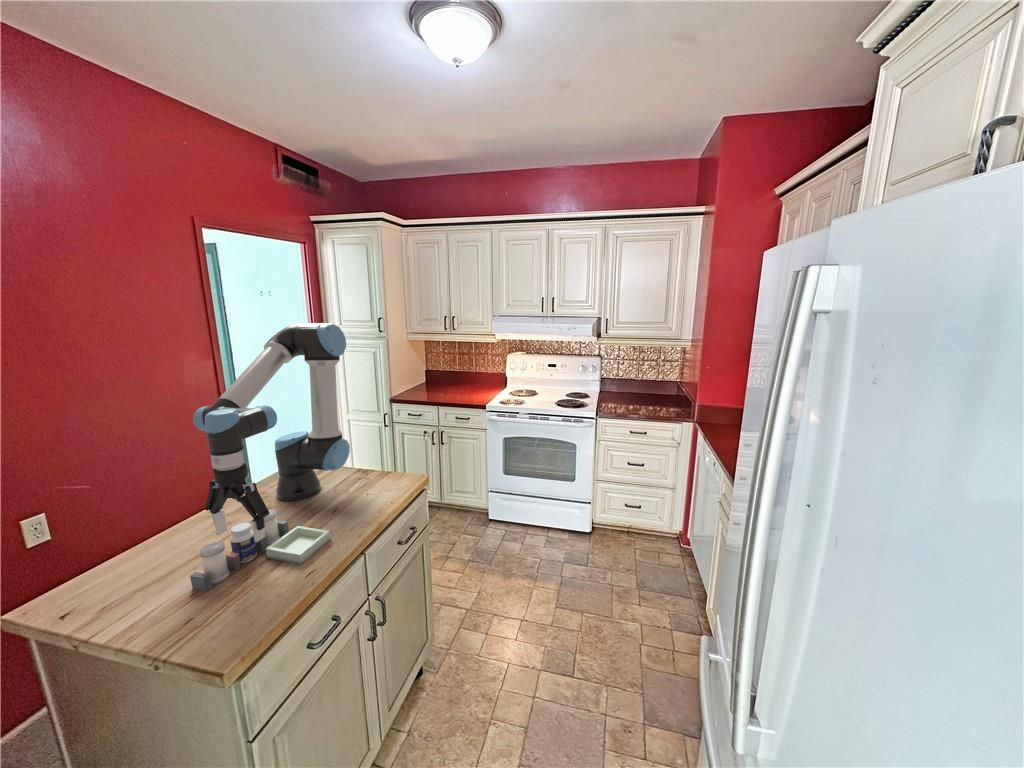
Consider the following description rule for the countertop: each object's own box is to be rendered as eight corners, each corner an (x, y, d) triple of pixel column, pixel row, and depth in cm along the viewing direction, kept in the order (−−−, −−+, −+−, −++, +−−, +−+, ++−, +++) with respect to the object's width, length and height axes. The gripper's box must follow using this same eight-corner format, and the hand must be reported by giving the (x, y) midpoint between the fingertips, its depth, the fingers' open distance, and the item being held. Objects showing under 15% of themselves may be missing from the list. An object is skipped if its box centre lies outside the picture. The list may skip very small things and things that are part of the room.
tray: (298, 534, 126) (297, 525, 125) (330, 539, 123) (329, 530, 122) (267, 557, 115) (265, 548, 114) (301, 564, 112) (300, 554, 111)
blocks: (277, 530, 128) (275, 518, 127) (289, 532, 127) (287, 520, 126) (192, 589, 103) (189, 574, 102) (205, 592, 102) (202, 577, 101)
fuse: (270, 534, 126) (266, 509, 124) (284, 537, 125) (280, 511, 123) (256, 544, 121) (251, 517, 119) (270, 547, 120) (265, 520, 118)
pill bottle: (246, 565, 112) (240, 533, 109) (229, 563, 113) (223, 531, 111) (262, 552, 117) (257, 522, 115) (246, 550, 118) (240, 520, 116)
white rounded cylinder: (219, 569, 110) (213, 540, 108) (234, 572, 109) (228, 543, 107) (200, 582, 105) (194, 552, 103) (216, 585, 104) (209, 555, 102)
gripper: (181, 466, 108) (194, 537, 113) (253, 475, 102) (264, 550, 106) (208, 456, 115) (219, 523, 120) (277, 464, 109) (287, 534, 113)
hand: (240, 536), depth 113 cm, fingers open, 13 cm apart
